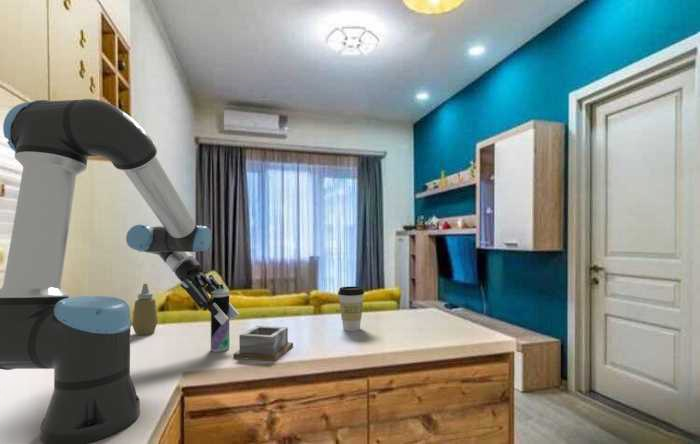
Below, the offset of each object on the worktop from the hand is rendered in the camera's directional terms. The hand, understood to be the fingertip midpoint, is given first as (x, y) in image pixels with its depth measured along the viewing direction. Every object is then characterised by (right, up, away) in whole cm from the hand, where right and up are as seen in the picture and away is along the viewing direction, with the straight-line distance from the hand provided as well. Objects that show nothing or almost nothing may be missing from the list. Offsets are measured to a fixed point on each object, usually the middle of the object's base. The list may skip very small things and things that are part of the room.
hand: (230, 319), depth 110 cm
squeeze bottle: (-38, -11, +20) cm, 44 cm away
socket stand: (+11, -9, -3) cm, 15 cm away
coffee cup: (+37, -10, +22) cm, 44 cm away
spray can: (-3, -10, 0) cm, 10 cm away
